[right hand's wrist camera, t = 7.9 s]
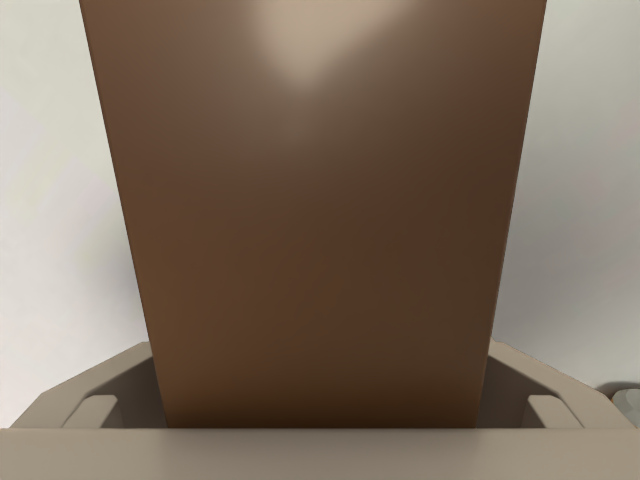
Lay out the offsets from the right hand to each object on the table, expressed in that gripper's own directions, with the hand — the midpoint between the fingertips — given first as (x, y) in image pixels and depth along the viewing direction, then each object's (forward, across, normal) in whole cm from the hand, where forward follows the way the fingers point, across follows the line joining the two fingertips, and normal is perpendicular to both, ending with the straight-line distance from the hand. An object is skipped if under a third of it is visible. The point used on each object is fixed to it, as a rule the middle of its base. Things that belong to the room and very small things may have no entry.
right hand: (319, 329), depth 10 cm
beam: (+3, 0, -24) cm, 24 cm away
